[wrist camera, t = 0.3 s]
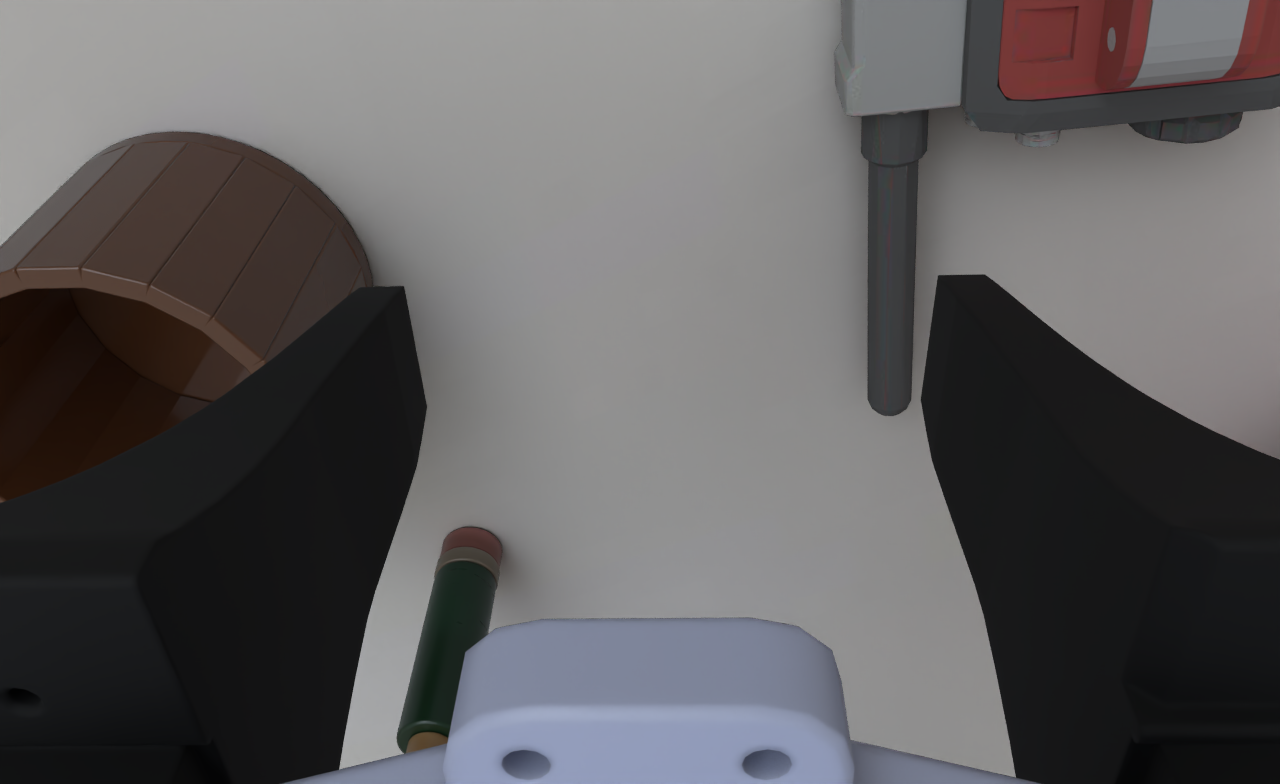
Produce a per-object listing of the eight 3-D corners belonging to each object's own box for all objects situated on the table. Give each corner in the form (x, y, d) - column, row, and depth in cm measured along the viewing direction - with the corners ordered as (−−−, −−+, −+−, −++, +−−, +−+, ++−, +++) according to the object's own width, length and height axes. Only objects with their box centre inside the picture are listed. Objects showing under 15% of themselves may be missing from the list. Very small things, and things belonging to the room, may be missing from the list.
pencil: (506, 569, 32) (467, 802, 26) (446, 570, 32) (392, 802, 26) (499, 525, 31) (456, 756, 25) (437, 525, 31) (379, 756, 25)
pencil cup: (398, 402, 28) (341, 570, 24) (114, 405, 29) (0, 572, 24) (341, 126, 24) (256, 263, 19) (5, 134, 24) (-162, 271, 19)
